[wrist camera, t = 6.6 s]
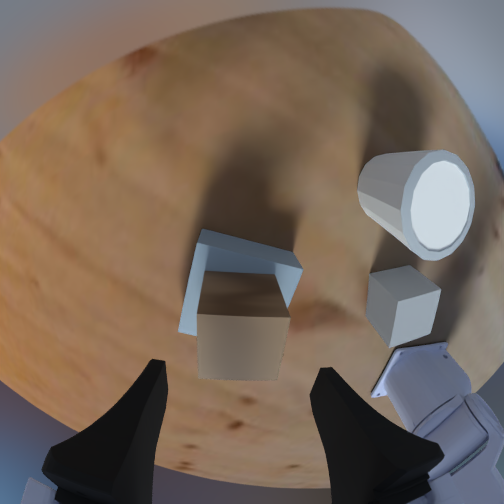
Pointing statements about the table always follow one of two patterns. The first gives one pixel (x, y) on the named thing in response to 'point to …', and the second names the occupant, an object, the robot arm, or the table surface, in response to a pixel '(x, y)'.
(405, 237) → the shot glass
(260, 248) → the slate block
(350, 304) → the table surface
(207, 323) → the walnut cube
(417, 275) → the grey cube
